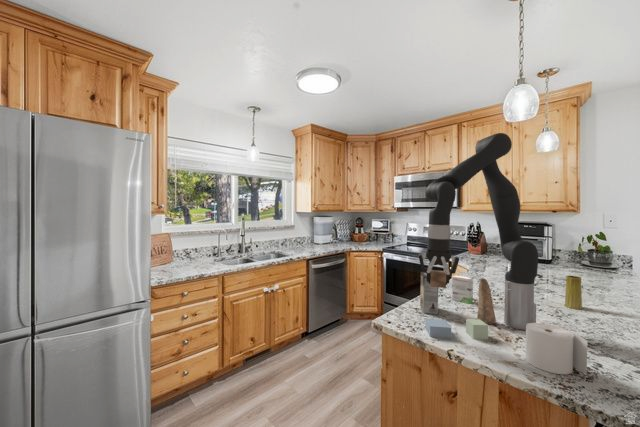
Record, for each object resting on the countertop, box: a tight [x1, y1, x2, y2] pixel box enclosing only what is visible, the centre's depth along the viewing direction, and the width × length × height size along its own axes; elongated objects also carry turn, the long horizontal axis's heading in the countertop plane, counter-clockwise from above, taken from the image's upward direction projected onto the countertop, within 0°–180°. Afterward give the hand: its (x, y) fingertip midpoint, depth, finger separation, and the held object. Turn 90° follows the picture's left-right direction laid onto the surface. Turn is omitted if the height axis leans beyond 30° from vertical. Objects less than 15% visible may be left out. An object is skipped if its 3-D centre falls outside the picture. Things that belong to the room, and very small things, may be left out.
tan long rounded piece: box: [476, 277, 497, 325], centre depth 110 cm, size 6×18×6 cm
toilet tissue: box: [524, 322, 589, 376], centre depth 80 cm, size 11×12×10 cm
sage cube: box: [465, 318, 489, 340], centre depth 98 cm, size 5×5×5 cm
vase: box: [564, 275, 583, 310], centre depth 128 cm, size 6×6×14 cm
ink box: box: [451, 275, 474, 304], centre depth 136 cm, size 9×5×12 cm, turn 44°
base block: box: [425, 318, 452, 339], centre depth 100 cm, size 7×7×4 cm
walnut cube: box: [430, 269, 447, 289], centre depth 100 cm, size 5×5×5 cm
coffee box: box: [419, 271, 439, 315], centre depth 123 cm, size 9×6×16 cm
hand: (437, 283), depth 100 cm, fingers closed on walnut cube, 5 cm apart
